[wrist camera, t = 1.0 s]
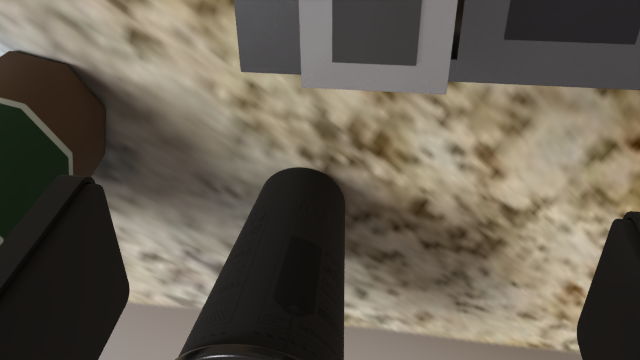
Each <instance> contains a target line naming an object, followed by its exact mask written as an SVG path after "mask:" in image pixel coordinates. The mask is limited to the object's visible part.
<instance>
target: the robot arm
mask: <svg viewBox="0 0 640 360" xmlns="http://www.w3.org/2000/svg"><path fill="white" fill-rule="evenodd" d="M128 297H129V282H128V279H127V275H126V271H125V267H124V264H123V260H122V256H121V252H120V249H119V245H118V241H117V237H116V234H115V230H114V226H113V223H112V219H111V215H110V211H109V208H108V204H107V200H106V196H105V193H104V190H103V187H102V186H101V185H98V184H95V181H94V180H93V179H92V177H89V176H76V175H58V176H57V177H56V178H55V179H54V180H53V181H52V183H51V184H50V185H49V186H48V187H47V189H46V190H45V191H44V192H43V194H42V195H41V196H40V197H39V198H38V200H37V201H36V202H35V203H34V205H33V206H32V207H31V208H30V209H29V211H28V212H27V213H26V214H25V216H24V217H23V218H22V219H21V220H20V222H19V223H18V224H17V225H16V227H15V228H14V229H13V230H12V232H11V233H10V234H9V235H8V236H7V238H6V239H5V240H4V241H3V243H2V244H1V245H0V360H98V359H99V356H100V355H101V353H102V351H103V349H104V347H105V345H106V343H107V341H108V339H109V337H110V335H111V333H112V331H113V329H114V327H115V325H116V323H117V321H118V319H119V317H120V315H121V314H122V311H123V309H124V308H125V306H126V303H127V301H128ZM577 340H578V345H579V348H580V352H581V356H582V359H583V360H640V212H632V211H630V212H627V213H626V214H625V216H624V218H623V219H615V220H614V221H613V223H612V225H611V228H610V231H609V234H608V237H607V240H606V243H605V246H604V248H603V251H602V254H601V257H600V260H599V263H598V266H597V269H596V272H595V275H594V277H593V280H592V283H591V286H590V289H589V292H588V295H587V298H586V301H585V304H584V306H583V309H582V312H581V315H580V318H579V321H578V325H577Z"/></svg>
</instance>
